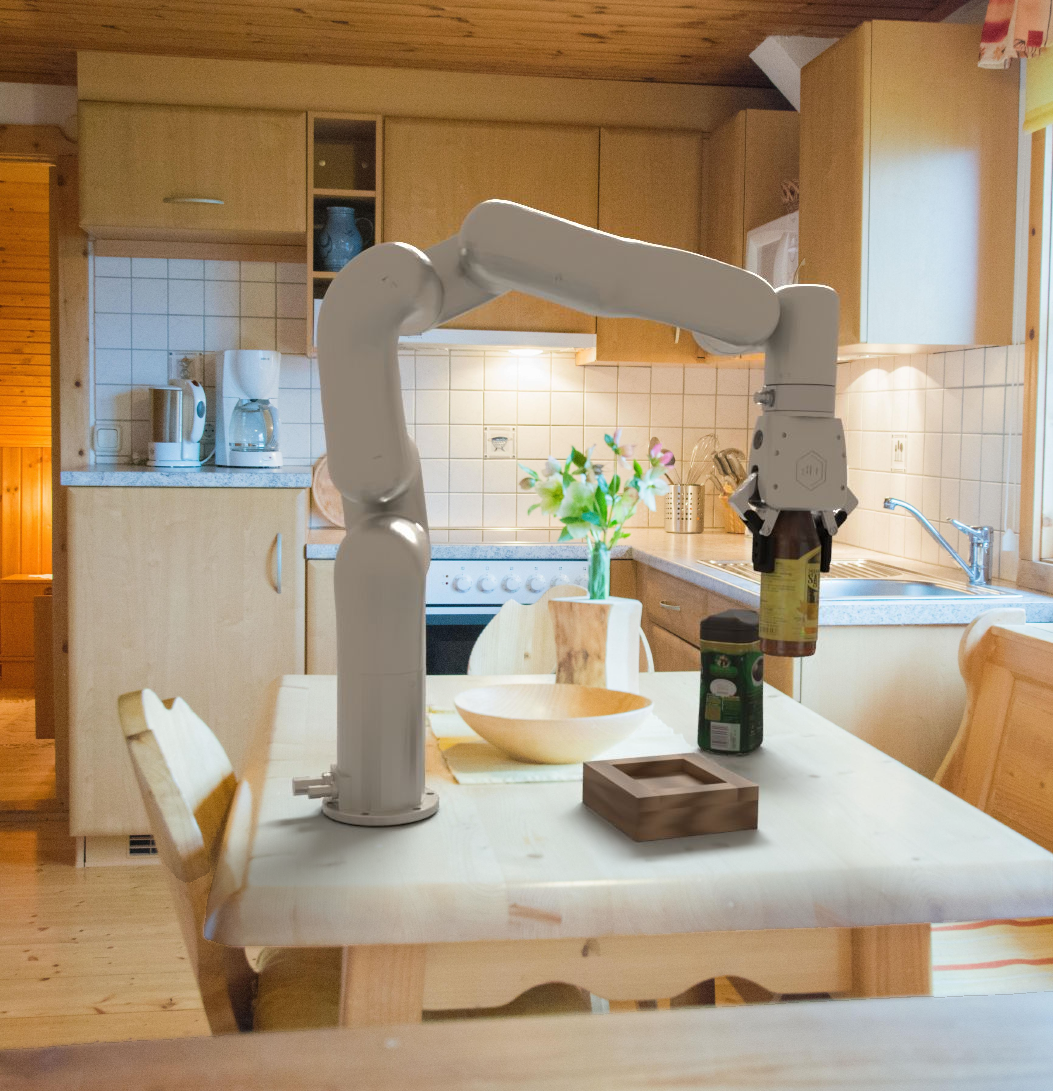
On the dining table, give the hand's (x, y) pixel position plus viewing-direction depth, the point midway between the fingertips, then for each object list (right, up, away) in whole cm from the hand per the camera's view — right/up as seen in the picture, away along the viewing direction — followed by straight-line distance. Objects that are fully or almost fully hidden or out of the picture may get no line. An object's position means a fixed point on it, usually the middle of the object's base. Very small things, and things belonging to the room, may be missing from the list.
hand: (791, 570), depth 123 cm
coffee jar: (-1, -25, +29) cm, 38 cm away
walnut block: (-13, -26, +1) cm, 30 cm away
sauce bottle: (0, -9, +1) cm, 9 cm away
